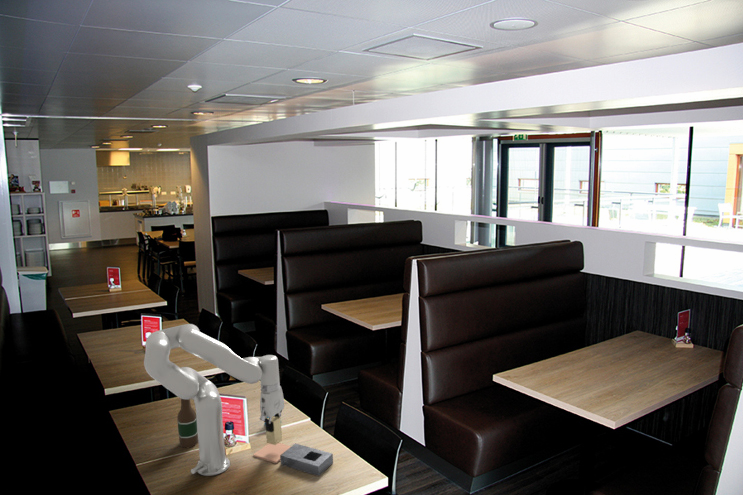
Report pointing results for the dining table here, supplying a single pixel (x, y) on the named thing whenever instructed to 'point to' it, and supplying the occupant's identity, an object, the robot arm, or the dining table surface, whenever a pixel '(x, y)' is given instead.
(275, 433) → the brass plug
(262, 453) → the terracotta tile
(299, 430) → the dining table surface
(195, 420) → the beer bottle
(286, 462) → the grey block with hole
